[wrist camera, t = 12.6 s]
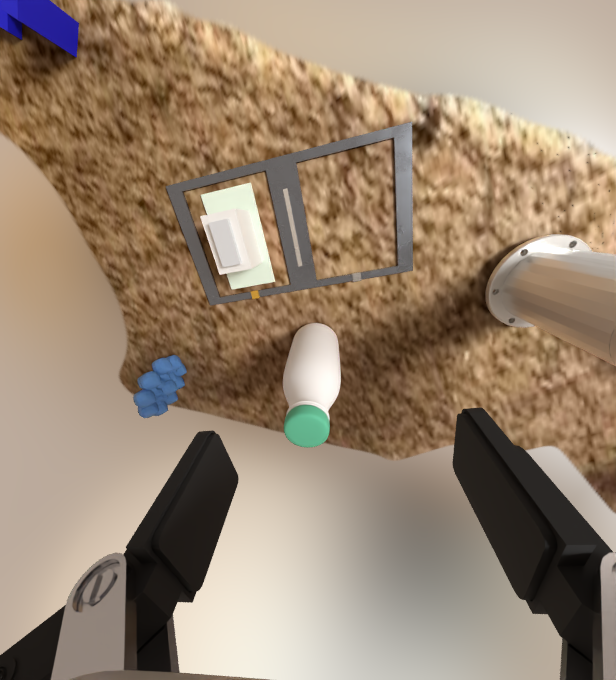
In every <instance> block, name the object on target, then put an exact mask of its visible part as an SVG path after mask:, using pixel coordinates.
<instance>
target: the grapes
mask: <svg viewBox="0 0 616 680" xmlns="http://www.w3.org/2000/svg"><path fill="white" fill-rule="evenodd" d="M152 369H153V371H151V372H147V373H145V374H143V375H142V376H140V377H139V378H138V385H139V387H140V388H142V390H141V391H139V392H137V393H136V394H134V397H133V398H134V402H135V404H136V405H137V406H138V413H139V415H140V416H141V417H143V418H149V417H151V416H159V415H161V414H163V413H165V412H166V411H168V407H167V405H170V404H172V403H174V402H175V401H177V400H178V397H177V394H176V392H175V391H176V390H178V389H180V388H182V387H183V386H185V383H184V380H183V378H182V377H181V376H182V375H184V374H185V373H187V372H186V368H185V366H184V364H182V362H181V360H180V358H179V357H178V356H176V355H172V356H168V357H167V358H160V359H157V360H156V361H154V362H153V363H152Z"/></svg>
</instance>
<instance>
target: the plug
mask: <svg viewBox="0 0 616 680" xmlns="http://www.w3.org/2000/svg"><path fill="white" fill-rule="evenodd" d="M200 217H201V220H202V223H203V226H204V229H205V232H206V235H207V238H208V241H209V244H210V247H211V250H212V253H213V256H214V259H215V262H216V265H217V268H218V271H219V274H220V275H221V274H227V273H232V272H237V271H243V270H248V269H252V268H254V267H256V266H257V265H259V264H261V263H262V259H261V255H260V251H259V247H258V243H257V240H256V236H255V232H254V228H253V224H252V220H251V216H250V212H249V211H248V210H242V209H231V210H226V211H222V212H217V213H213V214H209V215H204V216H200Z"/></svg>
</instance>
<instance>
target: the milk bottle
mask: <svg viewBox="0 0 616 680" xmlns="http://www.w3.org/2000/svg"><path fill="white" fill-rule="evenodd" d="M340 383H341V372H340V357H339V345H338V339H337V336H336V334H335V333H334V331H333V330H332V329H331V328H329V327H328V326H326V325H324V324H320V323H310V324H307V325H305V326H303V327H301V328H300V329H299V330H298V331H297V332H296V334H295V336H294V339H293V342H292V345H291V349H290V352H289V356H288V359H287V363H286V366H285V370H284V375H283V389H284V394H285V397H286V399H287V401H288V404H289V409H288V411H287V413H286V418H285V422H284V433H285V435H286V437H287V438H288V440H289V441H291V442H292V443H293V444H295V445H298V446H301V447H315V446H318V445H321V444H322V443H324V442H325V441H326V439H327V438H328V435H329V429H330V424H329V419H330V418H329V413H328V410H329V408H330V407H331V406H332V404H333V403H334V401H335V400H336V398H337V396H338V393H339V390H340Z"/></svg>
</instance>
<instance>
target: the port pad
mask: <svg viewBox="0 0 616 680" xmlns="http://www.w3.org/2000/svg"><path fill="white" fill-rule="evenodd" d="M201 197H202V201H203V204H204V207H205V210H206V213H207V215H209V214H213V213H217V212H222V211H226V210H231V209H242V210H248V211H249V212H250V216H251V220H252V224H253V228H254V232H255V236H256V240H257V243H258V247H259V251H260V255H261V259H262V263H261V264H259V265H257V266H256V267H254V268H252V269H248V270H243V271H237V272H232V273H227V277H228V280H229V283H230V286H231V289H237V288H243V287H248V286H254V285H259V284H265V283H271V282H275V278H274V274H273V270H272V266H271V262H270V258H269V254H268V250H267V246H266V242H265V238H264V234H263V230H262V226H261V222H260V218H259V214H258V210H257V206H256V202H255V198H254V194H253V190H252V186H251V183H247V184H243V185H239V186H235V187H231V188H227V189H223V190H219V191H215V192H211V193H207V194H203V195H201Z"/></svg>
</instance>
